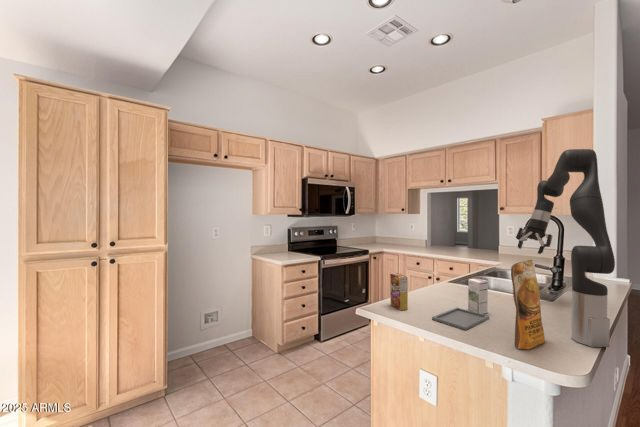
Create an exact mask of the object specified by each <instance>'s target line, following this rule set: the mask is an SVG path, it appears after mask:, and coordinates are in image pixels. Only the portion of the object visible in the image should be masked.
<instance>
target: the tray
mask: <svg viewBox="0 0 640 427" xmlns="http://www.w3.org/2000/svg"><path fill="white" fill-rule="evenodd" d="M489 319H490V315H487V314H480V313H476V312H472V311H468V309H464V308H460V307H454V308H451V309H449V310H446V311H445V312H441V313H439V314H436V315H433V316H432V317H431V320H432V321H434V322H438V323H441V324H444V325H447V326H450V327H452V328H453V327H454V328H455V329H459V330H462V331H468V330H471V329H472V328H474V327H476V326H479V325H480V324H483V322H486V321H488V320H489Z"/></svg>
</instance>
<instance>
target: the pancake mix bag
mask: <svg viewBox="0 0 640 427" xmlns="http://www.w3.org/2000/svg"><path fill="white" fill-rule="evenodd" d="M534 266H535V265H534V261H533V260H532V259H529V260H528V259H527V260H525V261H520V262H519V261H518V262H516V263H513V265H512V266H511V268H510V276H511V277H510V278H511V284H512V293H513V294H512V296H513V302H514V305H515V325H514V326H515V327H514V347H515V348H516V349H517V350H527V351H528V350H532V349H534V348H536V347H538V346H540V345H542V344H545V342H546V340H545V339H546V338H545V331H544V327H543V322H542V318H543V317H542V309H541V308H542V307H541V296H540V288H539V282H538V278H537V274H536V271H535V267H534Z"/></svg>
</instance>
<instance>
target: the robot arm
mask: <svg viewBox="0 0 640 427" xmlns="http://www.w3.org/2000/svg"><path fill="white" fill-rule="evenodd" d="M596 153H597V152H596V151H595V150H594V149H590V148H575V149H574V148H570V149H566V150H564V151H563V152H562V153H561V155H560V156H559V157H558V160H557V162H556V164H555V166H554V169H553V172H552V174H551V175H550V176H549V177H548V178H547V180H545V179H544V180H541V181H539V183H538V184H537V187H536V188H537V193H536V194H537V195H536V196H537V197H536V198H537V199H536V203H535V207H534V210H533V212H532V214H531V216H530V219H529V222H528V225H527V227H526V229H525V228H523V227H519V228H518V231H517V234H516V236H515V239H516V240H518V244H517V247H518V249H520V250H522V248H523V244H524V242H525V241H526V240H528V239H529V240H533V241H538V243H539V244H540V246H539V248H538V251H537V254H538V255H541V254H543V253H544V249H545V248H550V247H551V244H552V241H553V234H550V233H548V234H547V233H546V231H547V228H548V225H549V223H550V221H551V216H552V211H553V210H554V205H555V203H554V202H553V200H549V199H548V198H546V197H545V196H548V197H553V198H558V197H560V196H562V194H563V193H564V189H565V186H566V185H567V184H568V183H569V182H570V178H571V175H570V173H583V180H582V181H581V183H580V185H579V186H577V188H576V189H575V191H573V193H572V194H571V196H570V198H569V208H570V215H571V217H572V219H573V220H574V221H575V222H576V223H577V225H579V226H580V227H581V228H582V229H583V230H584V231H585V232H586V233H588V235H589V236H590V237H591V239H592V240H593V242H594V244H595V245H594V246H593V245H575V246H573V247H572V249H571V254H570V261H571V262H570V263H571V265H570V266H571V326H570V328H571V334H570V335H571V340H573V341H575V342H577V343H579V344H583V345H585V346H589V347H591V348H610V338H611V336H610V334H611V333H610V329H611V328H610V326H611V320H610V318H608V293H609V292H608V290H609V289H608V287H607V286H606V285H605V284H603V283H600V282H597V281H594V280H592V279H590V278H588V277H587V275H586V273H587V274H588V273H590V274H603V275H608V274H610V275H611V274H612V273H613V272H614V271H615V268H616V267H615V266H616V261H615V256H614V254H615V253H614V251H613V248H612V243H611V240H610V237H609V233H608V229H607V224H606V223H607V222H606V217H605V208H604V203H603V198H602V194H601V190H600V189H601V188H600V182H599V170H598V157H597V154H596ZM524 233H525V235H523V234H524ZM522 235H523V236H522ZM543 238H546V241H545V242H544V239H543Z"/></svg>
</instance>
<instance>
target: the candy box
mask: <svg viewBox="0 0 640 427" xmlns="http://www.w3.org/2000/svg"><path fill="white" fill-rule="evenodd" d="M389 275H390V279H389V281H390V285H389V286H390V290H389V291H390V306H393V307H395V308H396V309H397V310H399V311H408V301H409V299H408V294H409V293H408V292H409V291H408V288H409V287H408V286H409V284H408V281H409V280H408V276H406V275H404V274H401V273H398V272H391V273H390V274H389Z"/></svg>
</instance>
